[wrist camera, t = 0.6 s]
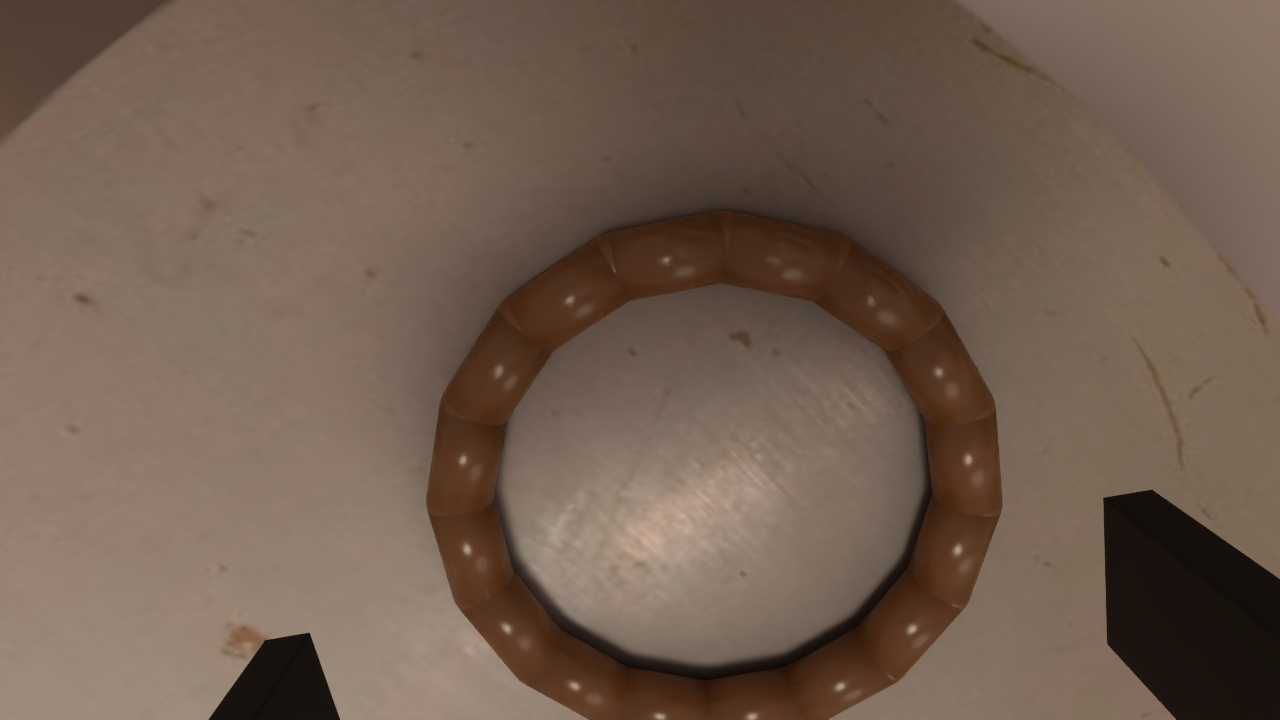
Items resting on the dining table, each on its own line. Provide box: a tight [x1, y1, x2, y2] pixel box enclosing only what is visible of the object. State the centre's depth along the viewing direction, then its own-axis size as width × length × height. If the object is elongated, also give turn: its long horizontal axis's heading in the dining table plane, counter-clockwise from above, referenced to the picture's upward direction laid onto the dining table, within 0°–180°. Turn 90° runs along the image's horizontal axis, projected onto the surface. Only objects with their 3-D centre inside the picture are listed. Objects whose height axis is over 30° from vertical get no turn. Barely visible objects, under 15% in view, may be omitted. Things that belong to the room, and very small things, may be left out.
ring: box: [426, 210, 1002, 720], centre depth 30 cm, size 21×21×2 cm
